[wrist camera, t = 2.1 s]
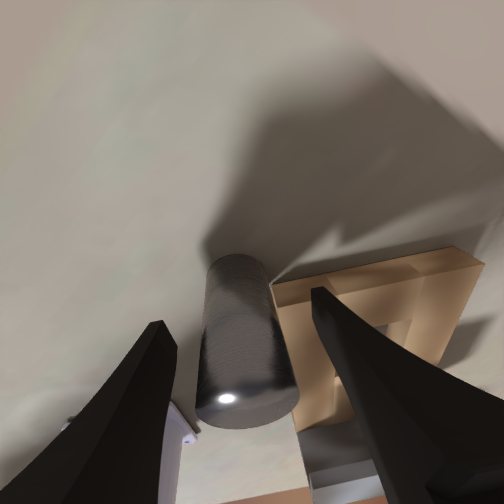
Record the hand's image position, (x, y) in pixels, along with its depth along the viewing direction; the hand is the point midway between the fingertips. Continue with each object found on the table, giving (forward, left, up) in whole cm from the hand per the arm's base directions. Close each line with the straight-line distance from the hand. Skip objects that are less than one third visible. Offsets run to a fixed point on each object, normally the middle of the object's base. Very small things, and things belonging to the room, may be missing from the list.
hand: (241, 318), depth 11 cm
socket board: (+8, -10, -3) cm, 13 cm away
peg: (0, 0, -3) cm, 3 cm away
